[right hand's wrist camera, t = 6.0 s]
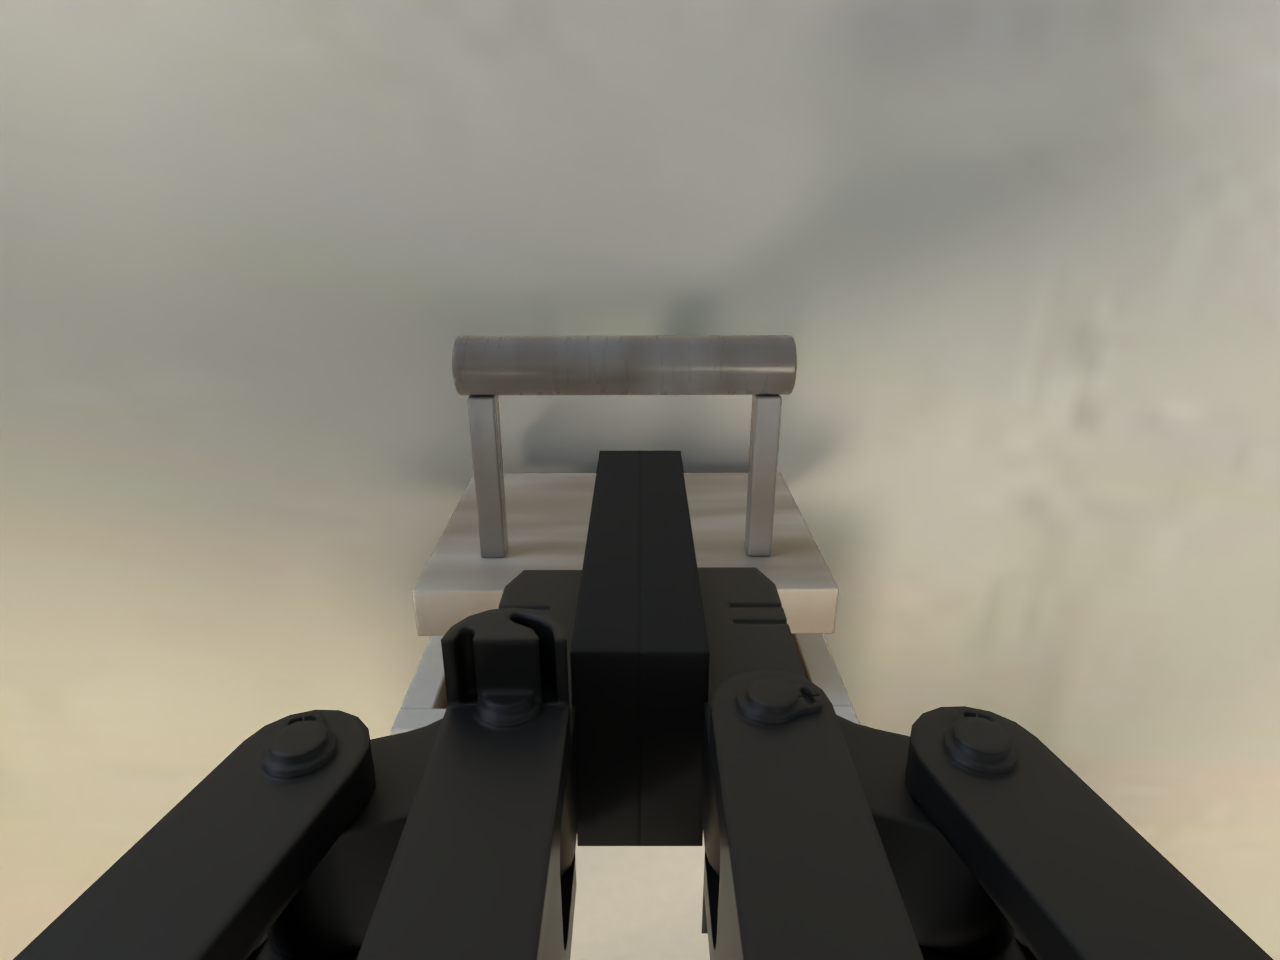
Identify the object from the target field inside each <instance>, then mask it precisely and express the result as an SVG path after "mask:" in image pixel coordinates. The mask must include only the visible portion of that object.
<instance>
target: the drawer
mask: <svg viewBox="0 0 1280 960" xmlns="http://www.w3.org/2000/svg"><path fill="white" fill-rule="evenodd" d="M452 369H453V378H454V384H455V387H456V390H457V392H458V394H459V395H470V396H469V398H468V408H469V420H470V432H471V444H472V456H473V468H474V475H473V477H472V478H471V480H470V482H469V484H468V486H467V488H466V490H465V492H464V494H463V496H462V498H461V499H460V501H459V503H458V505H457V507H456V509H455V511H454V513H453V515H452V517H451V519H450V520H449V522H448V524H447V526H446V528H445V530H444V532H443V534H442V536H441V538H440V540H439V541H438V543H437V545H436V547H435V549H434V551H433V553H432V555H431V557H430V559H429V561H428V562H427V564H426V566H425V568H424V570H423V572H422V574H421V576H420V578H419V580H418V582H417V583H416V585H415V587H414V589H413V592H412V593H413V601H414V609H415V618H416V626H417V634H418V635H419V636H444V635H445V634H446V633H447V631H448V630H449V629H450V627H452V626H453V625H455V624H456V623H458V622H460V621H461V620H463V619H465V618H466V617H468V616H471V615H474V614H477V613H481V612H484V611H487V610H491V609H499V603H500V600H501V597H502V594H503V591H504V588H505V586H506V585H507V584H509V583H510V582H511V581H512V580H513V579H514V578H515V577H517V576H518V575H519V574H520V573H521V572H522V571H523V570H582V568H583V561H584V554H585V548H586V541H587V534H588V527H589V520H590V513H591V507H592V500H593V493H594V486H595V479H596V473H520V474H503V461H502V446H501V432H500V417H499V402H498V395H753V396H752V414H751V433H750V451H749V469H748V473H684V479H685V486H686V493H687V500H688V507H689V513H690V520H691V527H692V534H693V541H694V548H695V554H696V561H697V567H756V568H757V569H758V570H760V571H761V572H762V573H763V574H764V575H765V576H766V577H768V578H769V579H770V580H771V581H772V582H773V583H774V584H775V585H776V588H777V591H778V594H779V597H780V600H781V603H782V607H783V609H784V612H785V615H786V618H787V624H789V627H790V630H791V633H834V628H835V619H836V609H837V600H838V590H839V589H838V587H837V585H836V583H835V581H834V579H833V577H832V575H831V573H830V571H829V569H828V567H827V565H826V563H825V561H824V559H823V557H822V555H821V553H820V551H819V549H818V547H817V545H816V543H815V541H814V539H813V537H812V535H811V533H810V531H809V529H808V527H807V525H806V523H805V521H804V519H803V517H802V515H801V513H800V511H799V509H798V507H797V505H796V503H795V501H794V499H793V497H792V495H791V493H790V491H789V489H788V487H787V485H786V483H785V481H784V479H783V477H782V475H781V473H779V472H777V463H778V449H779V434H780V419H781V405H782V398H781V396H780V395H779V394H790V393H791V392H792V390H793V388H794V384H795V379H796V369H797V355H796V346H795V342H794V339H793V337H792V336H790V335H750V336H459V337H457V338H456V339H455V342H454V346H453V354H452Z"/></svg>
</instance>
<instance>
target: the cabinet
mask: <svg viewBox="0 0 1280 960" xmlns="http://www.w3.org/2000/svg"><path fill="white" fill-rule="evenodd" d="M792 636H793V640H794V643H795V646H796V649H797V652H798V655H799V658H800V661H801V664H802V667H803V670H804V673H805V676H806V679H808V680H809V681H811V682H812V683H814V684H815V685H816V686H818V687H819V688H821V689H822V690H823V691H824V693H825V694H826V696H827V697H828V698H829V700H830V701H831V703H832V705H833V708H834V710H835V713H836V714H837V715H838V716H841V717H843V718H845V719H847V720H849V721H851V722H853V723H856V724H859V725H860V723H859V721H858V718H857V716H856V713H855V711H854V709H853V707H852V703H851V700H850V698H849V696H848V693H847V691H846V688H845V686H844V684H843V681H842V679H841V676H840V674H839V672H838V669H837V667H836V664H835V662H834V660H833V657H832V655H831V652H830V650H829V648H828V645H827V643H826V640H825V638H824V636H823V633H792ZM442 638H443V636H431V638H430V640H429V643H428V645H427V647H426V650H425V652H424V654H423V657H422V659H421V661H420V664H419V666H418V668H417V671H416V673H415V675H414V678H413V680H412V682H411V684H410V687H409V689H408V691H407V694H406V696H405V698H404V701H403V703H402V705H401V708H400V709H401V710H400V711H399V713H398V715H397V717H396V720H395V722H394V724H393V727H392V729H391V735H395V734H399V733H404V732H408V731H411V730H415V729H418V728H421V727H425V726H427V725H429V724H431V723H434V722H436V721H438V720H440V719H442V718H443V717H444V714H445V711H446V709H447V706H448V702H447V693H446V684H445V674H444V665H443V656H442V647H441V639H442ZM575 859H576V884H577V885H576V897H575V909H574V920H573V932H572V944H571V955H570V960H710V954H709V942H708V933H702V909H703V884H704V859H705V845H704V834H703V845H702V846H578V845H577V838H576V849H575Z"/></svg>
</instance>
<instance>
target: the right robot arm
mask: <svg viewBox="0 0 1280 960" xmlns="http://www.w3.org/2000/svg"><path fill="white" fill-rule="evenodd" d="M441 647H442V656H443V665H444V674H445V684H446V693H447V702H448V706H447V709H446V711H445V714H444V717H443V718H442V719H440V720H438V721H436V722H434V723H431V724H429V725H427V726H425V727H421V728H418V729H415V730H411V731H408V732H404V733H399V734H395V735H390V736H386V737H381V738H376V739H372V740H370V736H369V730H368V728H367V727H366V726H365V725H364V723H363V722H362V721H361V720H360V719H359V718H358V717H356V716H354V715H351V714H348V713H345V712H342V711H339V710H313V711H308V712H303V713H298V714H293V715H289V716H287V717H285V718H282V719H280V720H278V721H275V722H273V723H271V724H268V725H266V726H264V727H263V728H261V729H260V730H259V731H257V732H256V733H255V734H253V735H252V736H250V737H249V738H248V739H246V740H245V741H244V742H243V743H242V744H240V745H239V746H238V747H237V748H236V749H235V750H234V751H233V752H232V753H231V754H230V755H229V756H228V757H227V758H226V759H225V760H224V761H222V762H221V763H220V764H219V765H218V766H217V767H216V768H215V769H214V770H213V771H212V772H211V773H210V774H209V775H208V776H207V777H206V778H205V779H203V780H202V781H201V782H200V783H199V784H198V785H197V786H196V787H195V788H194V789H193V790H192V791H191V792H190V793H189V794H188V795H187V796H185V797H184V798H183V799H182V800H181V801H180V802H179V803H178V804H177V805H176V806H175V807H174V808H173V809H172V810H171V811H170V812H169V813H168V814H166V815H165V816H164V817H163V818H162V819H161V820H160V821H159V822H158V823H157V824H156V825H155V826H154V827H153V828H152V829H151V830H150V831H148V832H147V833H146V834H145V835H144V836H143V837H142V838H141V839H140V840H139V841H138V842H137V843H136V844H135V845H134V846H133V847H132V848H131V849H129V850H128V851H127V852H126V853H125V854H124V855H123V856H122V857H121V858H120V859H119V860H118V861H117V862H116V863H115V864H114V865H113V866H112V867H110V868H109V869H108V870H107V871H106V872H105V873H104V874H103V875H102V876H101V877H100V878H99V879H98V880H97V881H96V882H95V883H94V884H92V885H91V886H90V887H89V888H88V889H87V890H86V891H85V892H84V893H83V894H82V895H81V896H80V897H79V898H78V899H77V900H76V901H75V902H73V903H72V904H71V905H70V906H69V907H68V908H67V909H66V910H65V911H64V912H63V913H62V914H61V915H60V916H59V917H58V918H57V919H55V920H54V921H53V922H52V923H51V924H50V925H49V926H48V927H47V928H46V929H45V930H44V931H43V932H42V933H41V934H40V935H39V936H38V937H36V938H35V939H34V940H33V941H32V942H31V943H30V944H29V945H28V946H27V947H26V948H25V949H24V950H23V951H22V952H21V953H20V954H18V955H17V956H16V957H15V958H14V959H13V960H570V955H571V944H572V932H573V920H574V909H575V897H576V885H577V884H576V859H575V849H576V838H577V845H578V846H702V845H703V834H704V845H705V859H704V884H703V909H702V933H708V942H709V954H710V960H1273V959H1272V958H1271V957H1270V956H1269V955H1268V954H1267V953H1266V952H1265V951H1263V950H1262V949H1261V948H1260V947H1259V946H1258V945H1257V944H1256V943H1255V942H1254V941H1253V940H1252V939H1251V938H1250V937H1249V936H1248V935H1246V934H1245V933H1244V932H1243V931H1242V930H1241V929H1240V928H1239V927H1238V926H1237V925H1236V924H1235V923H1234V922H1233V921H1232V920H1230V919H1229V918H1228V917H1227V916H1226V915H1225V914H1224V913H1223V912H1222V911H1221V910H1220V909H1219V908H1218V907H1217V906H1216V905H1214V904H1213V903H1212V902H1211V901H1210V900H1209V899H1208V898H1207V897H1206V896H1205V895H1204V894H1203V893H1202V892H1201V891H1200V890H1199V889H1197V888H1196V887H1195V886H1194V885H1193V884H1192V883H1191V882H1190V881H1189V880H1188V879H1187V878H1186V877H1185V876H1184V875H1183V874H1181V873H1180V872H1179V871H1178V870H1177V869H1176V868H1175V867H1174V866H1173V865H1172V864H1171V863H1170V862H1169V861H1168V860H1167V859H1166V858H1164V857H1163V856H1162V855H1161V854H1160V853H1159V852H1158V851H1157V850H1156V849H1155V848H1154V847H1153V846H1152V845H1151V844H1150V843H1148V842H1147V841H1146V840H1145V839H1144V838H1143V837H1142V836H1141V835H1140V834H1139V833H1138V832H1137V831H1136V830H1135V829H1134V828H1132V827H1131V826H1130V825H1129V824H1128V823H1127V822H1126V821H1125V820H1124V819H1123V818H1122V817H1121V816H1120V815H1119V814H1118V813H1117V812H1115V811H1114V810H1113V809H1112V808H1111V807H1110V806H1109V805H1108V804H1107V803H1106V802H1105V801H1104V800H1103V799H1102V798H1101V797H1099V796H1098V795H1097V794H1096V793H1095V792H1094V791H1093V790H1092V789H1091V788H1090V787H1089V786H1088V785H1087V784H1086V783H1085V782H1083V781H1082V780H1081V779H1080V778H1079V777H1078V776H1077V775H1076V774H1075V773H1074V772H1073V771H1072V770H1071V769H1070V768H1069V767H1068V766H1066V765H1065V764H1064V763H1063V762H1062V761H1061V760H1060V759H1059V758H1058V757H1057V756H1056V755H1055V754H1054V753H1053V752H1052V751H1050V750H1049V749H1048V748H1047V747H1046V746H1045V745H1044V744H1043V743H1042V742H1041V741H1040V740H1039V739H1038V738H1037V737H1035V736H1034V735H1032V734H1031V733H1030V732H1028V731H1027V730H1025V729H1024V728H1023V727H1021V726H1020V725H1019V724H1017V723H1016V722H1013V721H1011V720H1009V719H1006V718H1004V717H1002V716H999V715H997V714H995V713H992V712H989V711H984V710H980V709H975V708H970V707H965V706H964V707H940V708H937V709H934V710H932V711H929V712H926V713H923V714H922V715H921V716H920V717H919V718H918V719H917V721H916V722H915V723H914V724H913V725H912V730H911V736H910V737H909V736H905V735H900V734H896V733H891V732H886V731H882V730H877V729H873V728H870V727H866V726H863V725H859V724H856V723H853V722H851V721H849V720H847V719H845V718H843V717H841V716H838V715H837V714H836V713H835V710H834V708H833V705H832V703H831V701H830V700H829V698H828V697H827V696H826V694H825V693H824V691H823V690H822V689H821V688H819V687H818V686H816V685H815V684H814V683H812V682H811V681H809V680H808V679H806V676H805V673H804V670H803V667H802V664H801V661H800V658H799V655H798V652H797V649H796V646H795V643H794V640H793V636H792V633H791V630H790V627H789V624H787V618H786V615H785V612H784V609H783V607H782V603H781V600H780V597H779V594H778V591H777V588H776V585H775V584H774V583H773V582H772V581H771V580H770V579H769V578H768V577H766V576H765V575H764V574H763V573H762V572H761V571H760V570H758V569H757V568H756V567H697V561H696V554H695V548H694V541H693V534H692V527H691V520H690V513H689V507H688V500H687V493H686V486H685V479H684V472H683V466H682V459H681V452H680V451H600V452H599V459H598V466H597V472H596V479H595V486H594V493H593V500H592V507H591V513H590V520H589V527H588V534H587V541H586V548H585V554H584V561H583V568H582V570H523V571H522V572H521V573H520V574H519V575H518V576H517V577H515V578H514V579H513V580H512V581H511V582H510V583H509V584H507V585H506V586H505V588H504V591H503V594H502V597H501V600H500V603H499V609H491V610H487V611H484V612H481V613H477V614H474V615H471V616H468V617H466V618H465V619H463V620H461V621H460V622H458V623H456V624H455V625H453V626H452V627H450V629H449V630H448V631H447V633H446V634H445V635H444V636H443V638H442V639H441Z"/></svg>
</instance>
